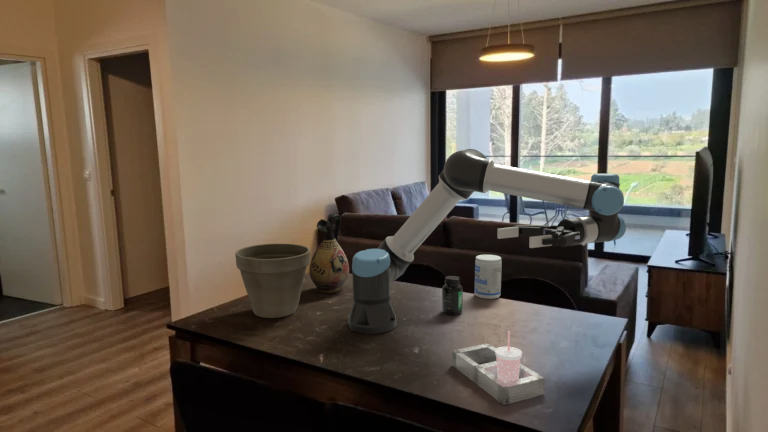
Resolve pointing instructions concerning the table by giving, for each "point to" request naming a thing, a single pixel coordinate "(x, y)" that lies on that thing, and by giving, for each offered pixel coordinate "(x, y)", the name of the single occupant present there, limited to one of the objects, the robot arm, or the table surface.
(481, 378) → the grey hollow block
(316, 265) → the ceramic jug
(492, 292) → the supplement tub
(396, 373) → the table surface
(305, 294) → the table surface
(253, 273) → the plant pot
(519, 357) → the beverage cup
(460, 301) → the supplement bottle
